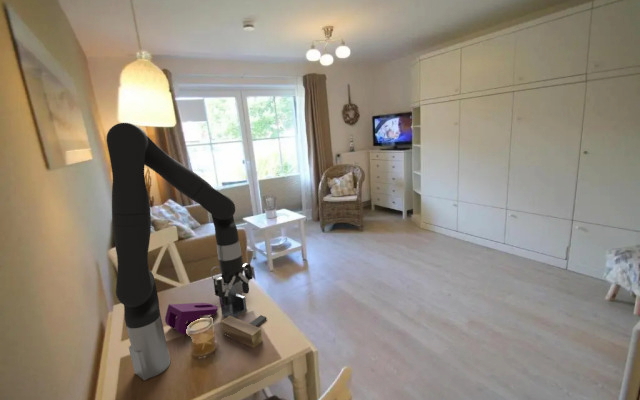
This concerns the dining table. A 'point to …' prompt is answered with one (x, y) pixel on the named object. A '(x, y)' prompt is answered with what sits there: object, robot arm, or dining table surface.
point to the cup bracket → (233, 304)
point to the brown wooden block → (242, 331)
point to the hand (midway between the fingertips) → (236, 298)
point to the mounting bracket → (187, 314)
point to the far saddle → (258, 320)
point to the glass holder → (237, 285)
